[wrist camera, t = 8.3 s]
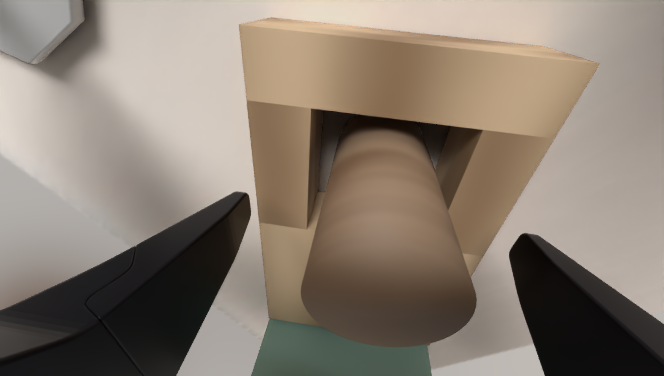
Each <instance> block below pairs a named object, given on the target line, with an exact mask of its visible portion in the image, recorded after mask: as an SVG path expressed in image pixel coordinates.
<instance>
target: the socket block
mask: <svg viewBox="0 0 664 376" xmlns="http://www.w3.org/2000/svg"><path fill="white" fill-rule="evenodd" d="M239 31H240V40H241V50H242V60H243V70H244V79H245V89H246V99H247V109H248V118H249V128H250V138H251V148H252V157H253V167H254V177H255V187H256V196H257V206H258V216H259V226H260V235H261V245H262V255H263V265H264V274H265V284H266V294H267V304H268V313H269V318H272V319H278V320H283V321H289V322H295V323H301V324H307V325H312V326H318V327H323V326H321V325H320V324H319V323H318V322H316V321H315V320H314V319H313V318H312V317H311V316H310V314H309V313H308V312H307V310H306V308H305V306H304V305H303V302H302V298H301V285H302V281H303V277H304V273H305V269H306V265H307V261H308V257H309V254H310V250H311V246H312V242H313V238H314V234H315V230H316V226H317V222H318V218H319V215H320V211H321V207H322V203H323V199H324V195H325V192H321V191H318V182H319V166H320V150H321V134H322V118H323V110H329V111H337V112H345V113H353V114H361V115H369V116H377V117H385V118H393V119H401V120H409V121H417V122H425V123H433V124H441V125H449V126H451V127H450V130H449V132H448V135H447V138H446V141H445V144H444V147H443V149H442V152H441V155H440V158H439V161H438V163H437V166H436V169H435V173H436V176H437V179H438V182H439V185H440V188H441V191H442V194H443V197H444V200H445V203H446V206H447V209H448V212H449V215H450V218H451V221H452V224H453V227H454V230H455V233H456V236H457V239H458V242H459V245H460V248H461V251H462V254H463V257H464V260H465V263H466V266H467V269H468V272H469V275H470V277H471V275H472V274H473V272H474V271H475V269H476V267H477V266H478V264H479V262H480V261H481V259H482V257H483V256H484V254H485V252H486V251H487V249H488V247H489V246H490V244H491V242H492V241H493V239H494V238H495V236H496V234H497V233H498V231H499V229H500V228H501V226H502V224H503V223H504V221H505V219H506V218H507V216H508V214H509V213H510V211H511V210H512V208H513V206H514V205H515V203H516V201H517V200H518V198H519V196H520V195H521V193H522V191H523V190H524V188H525V186H526V185H527V183H528V181H529V180H530V178H531V177H532V175H533V173H534V172H535V170H536V168H537V167H538V165H539V163H540V162H541V160H542V158H543V157H544V155H545V153H546V152H547V150H548V149H549V147H550V145H551V144H552V142H553V140H554V139H555V137H556V135H557V134H558V132H559V130H560V129H561V127H562V125H563V124H564V122H565V120H566V119H567V117H568V116H569V114H570V112H571V111H572V109H573V107H574V106H575V104H576V102H577V101H578V99H579V97H580V96H581V94H582V92H583V91H584V89H585V88H586V86H587V84H588V83H589V81H590V79H591V78H592V76H593V74H594V73H595V71H596V69H597V68H598V66H599V63H596V62H592V61H589V60H586V59H583V58H579V57H576V56H573V55H570V54H566V53H563V52H560V51H557V50H553V49H550V48H547V47H542V46H533V45H523V44H514V43H505V42H495V41H486V40H476V39H467V38H458V37H448V36H439V35H429V34H420V33H410V32H401V31H392V30H382V29H373V28H363V27H354V26H344V25H335V24H326V23H316V22H307V21H297V20H288V19H278V18H267V19H263V20H258V21H254V22H249V23H244V24H240V25H239ZM424 345H428V346H429V345H430V343H429V344H424Z"/></svg>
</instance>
